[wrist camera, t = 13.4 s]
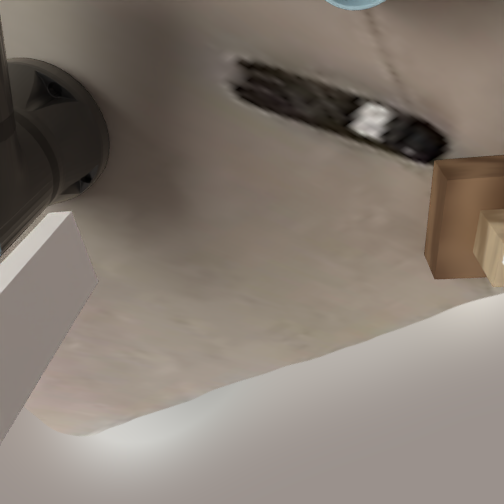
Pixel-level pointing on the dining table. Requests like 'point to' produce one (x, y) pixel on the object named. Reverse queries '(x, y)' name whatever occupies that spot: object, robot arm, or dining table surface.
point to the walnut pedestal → (460, 212)
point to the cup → (355, 4)
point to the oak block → (491, 245)
